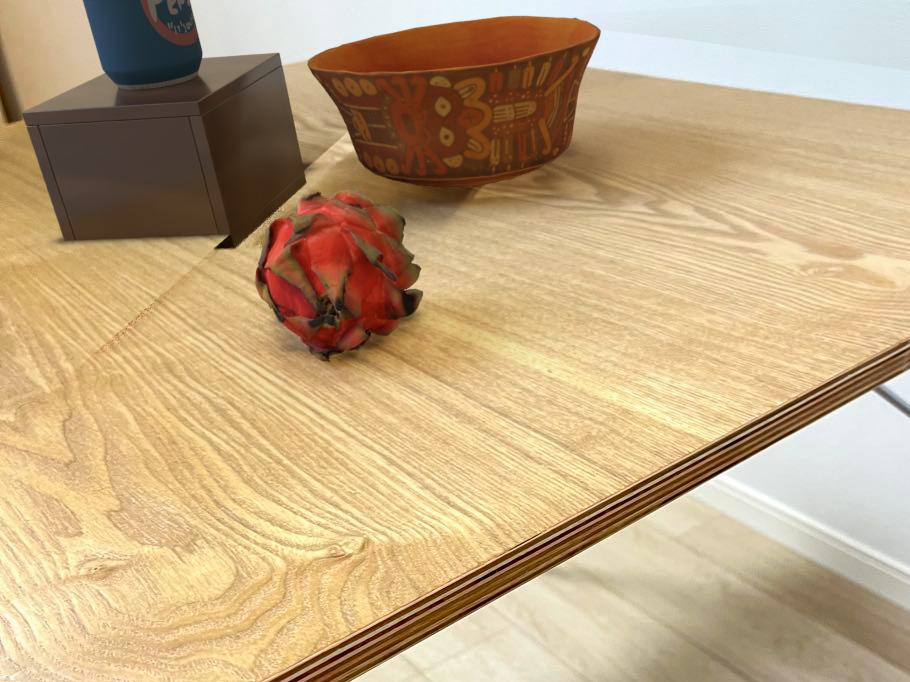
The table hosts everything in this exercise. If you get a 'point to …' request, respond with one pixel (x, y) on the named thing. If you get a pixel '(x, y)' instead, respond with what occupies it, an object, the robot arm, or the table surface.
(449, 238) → the table surface
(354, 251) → the dragon fruit
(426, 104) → the bowl
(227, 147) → the cabinet
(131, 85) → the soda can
